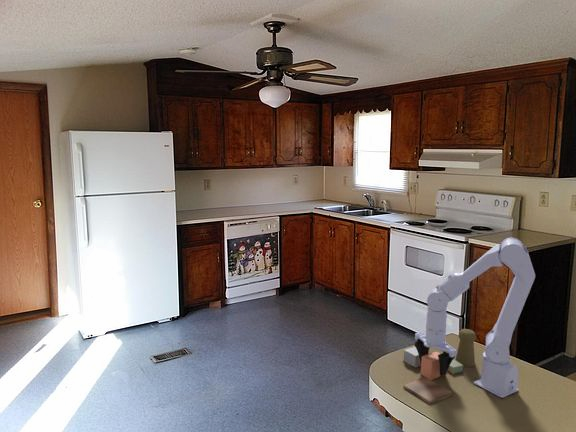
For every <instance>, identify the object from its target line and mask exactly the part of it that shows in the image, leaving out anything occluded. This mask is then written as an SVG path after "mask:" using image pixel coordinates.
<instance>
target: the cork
mask: <svg viewBox="0 0 576 432" xmlns="http://www.w3.org/2000/svg"><path fill="white" fill-rule="evenodd" d="M458 338H459V343H458V346H457V352H456V357H455V360H456V361H457V362H459V363H460V364H462V365H463V368H464V367H465V368H471V367H472V368H473V367H475V365H476V360H475V359H476V358H475V343H474V341H476V338H477V335H476V332H475V331H473V330H472V329H468V328H462V329H460V330H459V332H458Z"/></svg>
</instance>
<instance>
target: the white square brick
mask: <svg viewBox="0 0 576 432" xmlns="http://www.w3.org/2000/svg"><path fill="white" fill-rule="evenodd" d="M404 361H405V363H406V362H407V363H406V364H408V363H409V364H408V365H410V366H412V367H413V366H414V368H418V367H421V363H420V358H419V354H418V351H417V349H416V347H415V346H412V347H408V348H406V349H404V350H403V362H404ZM417 366H418V367H417Z"/></svg>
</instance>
